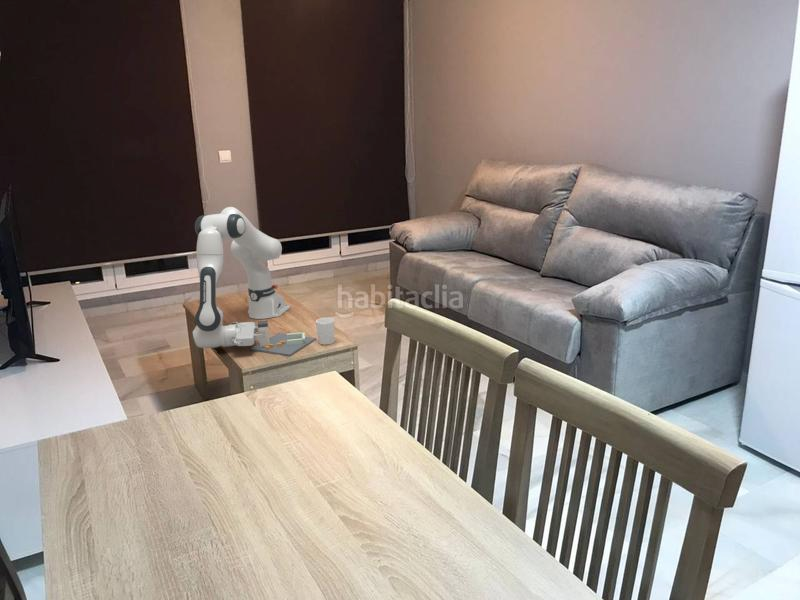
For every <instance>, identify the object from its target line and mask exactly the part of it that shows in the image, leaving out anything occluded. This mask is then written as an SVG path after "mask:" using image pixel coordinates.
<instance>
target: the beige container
mask: <svg viewBox="0 0 800 600" xmlns="http://www.w3.org/2000/svg"><path fill="white" fill-rule="evenodd" d="M257 326H258V332H257V333H258V334H261V333H265V334H266V337H265V338H261V339H258V340H259V344H260V347H261V346H269V344H270V339H269V338H270V330H269V321H268V320H260V321H259V320H258V321H257Z"/></svg>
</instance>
